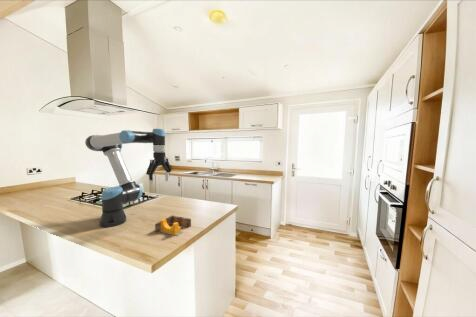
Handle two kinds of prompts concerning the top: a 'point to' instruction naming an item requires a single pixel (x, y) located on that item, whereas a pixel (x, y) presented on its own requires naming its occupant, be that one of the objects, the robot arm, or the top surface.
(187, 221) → the brown wooden corner wall
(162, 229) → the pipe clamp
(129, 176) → the robot arm
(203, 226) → the top surface
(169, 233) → the pad
